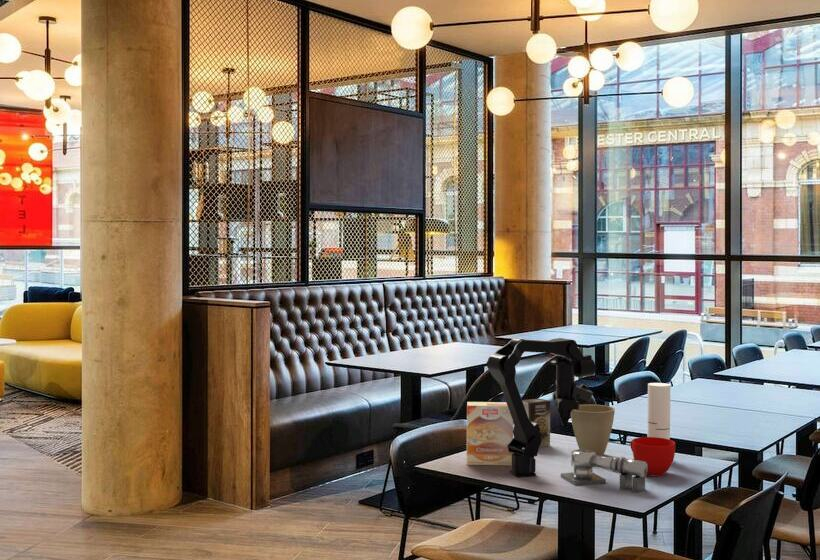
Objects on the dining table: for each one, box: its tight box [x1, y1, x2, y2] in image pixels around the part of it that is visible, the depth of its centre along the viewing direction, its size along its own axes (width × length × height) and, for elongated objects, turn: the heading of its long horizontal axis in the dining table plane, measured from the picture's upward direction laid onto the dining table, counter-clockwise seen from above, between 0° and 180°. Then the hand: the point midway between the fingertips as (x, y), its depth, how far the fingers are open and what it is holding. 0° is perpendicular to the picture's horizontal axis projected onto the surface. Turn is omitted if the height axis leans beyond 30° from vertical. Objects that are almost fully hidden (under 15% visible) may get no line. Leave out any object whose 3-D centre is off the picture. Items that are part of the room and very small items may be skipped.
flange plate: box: [560, 467, 607, 486], centre depth 266 cm, size 10×10×4 cm
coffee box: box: [522, 398, 551, 448], centre depth 311 cm, size 9×6×16 cm
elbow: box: [570, 448, 620, 474], centre depth 263 cm, size 15×7×4 cm, turn 48°
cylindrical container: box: [646, 382, 671, 440], centre depth 290 cm, size 7×7×25 cm
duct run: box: [617, 456, 648, 494], centre depth 255 cm, size 8×5×9 cm, turn 50°
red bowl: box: [629, 436, 676, 477], centre depth 275 cm, size 13×17×10 cm
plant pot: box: [570, 404, 616, 456], centre depth 297 cm, size 15×15×16 cm
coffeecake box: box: [466, 401, 514, 467], centre depth 286 cm, size 15×7×20 cm, turn 86°
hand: (565, 426), depth 280 cm, fingers closed
